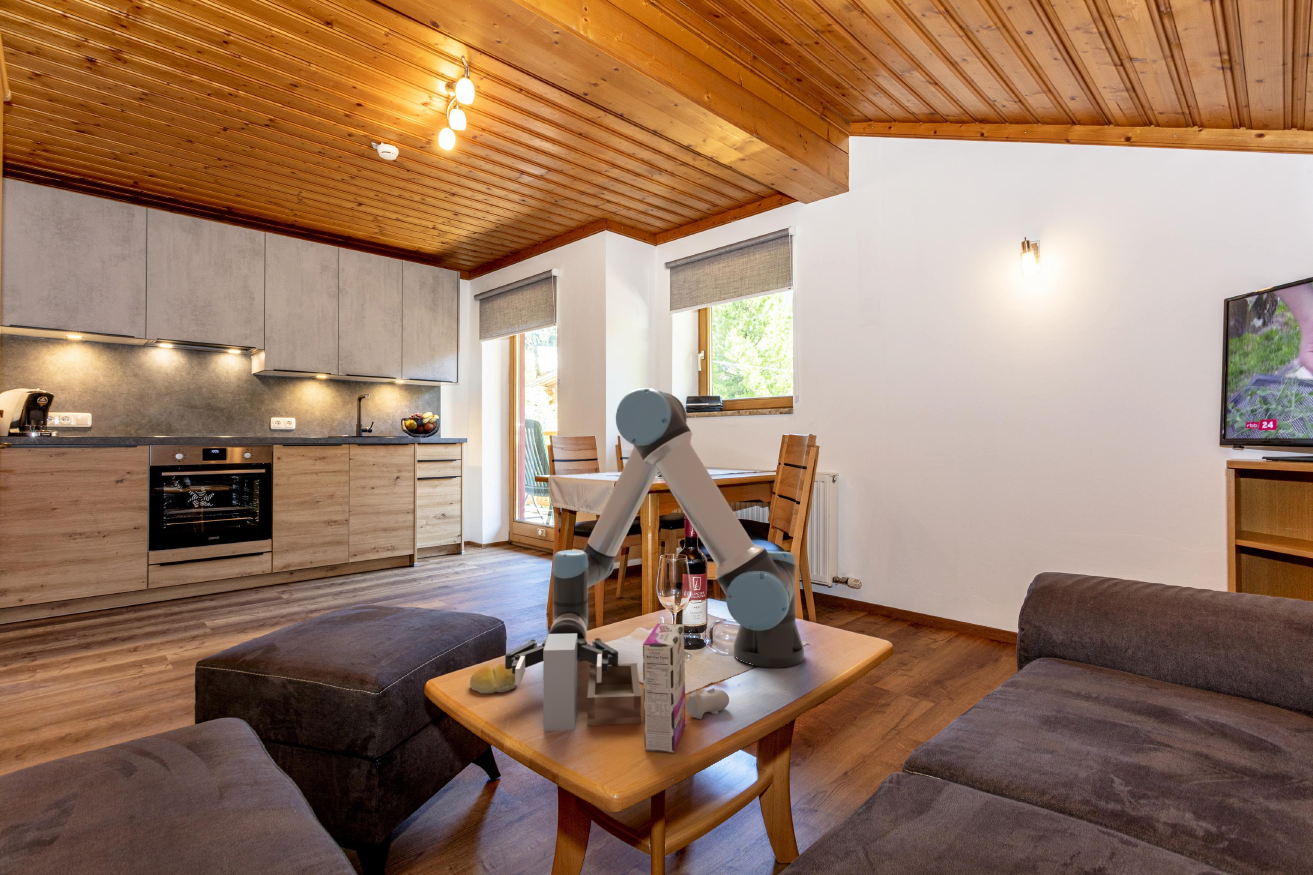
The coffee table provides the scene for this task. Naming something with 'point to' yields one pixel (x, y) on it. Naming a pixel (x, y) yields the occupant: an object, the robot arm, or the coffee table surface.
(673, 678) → the candy bar box
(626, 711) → the open brown box
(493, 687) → the bread roll
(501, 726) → the coffee table surface
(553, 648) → the grey box
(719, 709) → the pale two-lobed sculpture
